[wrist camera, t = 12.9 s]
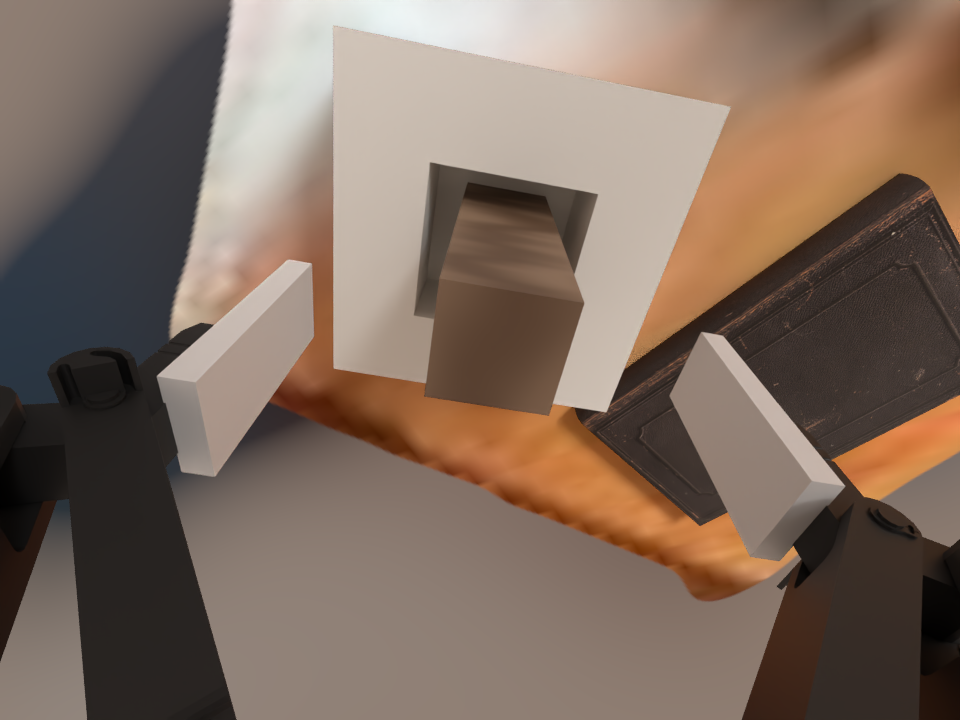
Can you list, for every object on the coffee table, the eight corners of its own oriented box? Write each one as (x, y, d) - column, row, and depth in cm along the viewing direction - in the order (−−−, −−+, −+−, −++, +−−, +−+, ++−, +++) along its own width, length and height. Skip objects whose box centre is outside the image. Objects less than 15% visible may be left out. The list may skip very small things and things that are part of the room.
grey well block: (681, 99, 24) (731, 106, 18) (589, 358, 32) (606, 412, 27) (370, 35, 23) (333, 25, 18) (360, 320, 31) (333, 368, 26)
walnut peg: (545, 196, 26) (584, 303, 14) (528, 270, 28) (548, 415, 16) (467, 182, 25) (439, 278, 14) (456, 257, 28) (424, 396, 16)
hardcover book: (989, 346, 31) (1022, 364, 29) (690, 504, 40) (700, 526, 38) (893, 169, 26) (926, 177, 24) (572, 400, 35) (577, 420, 33)
